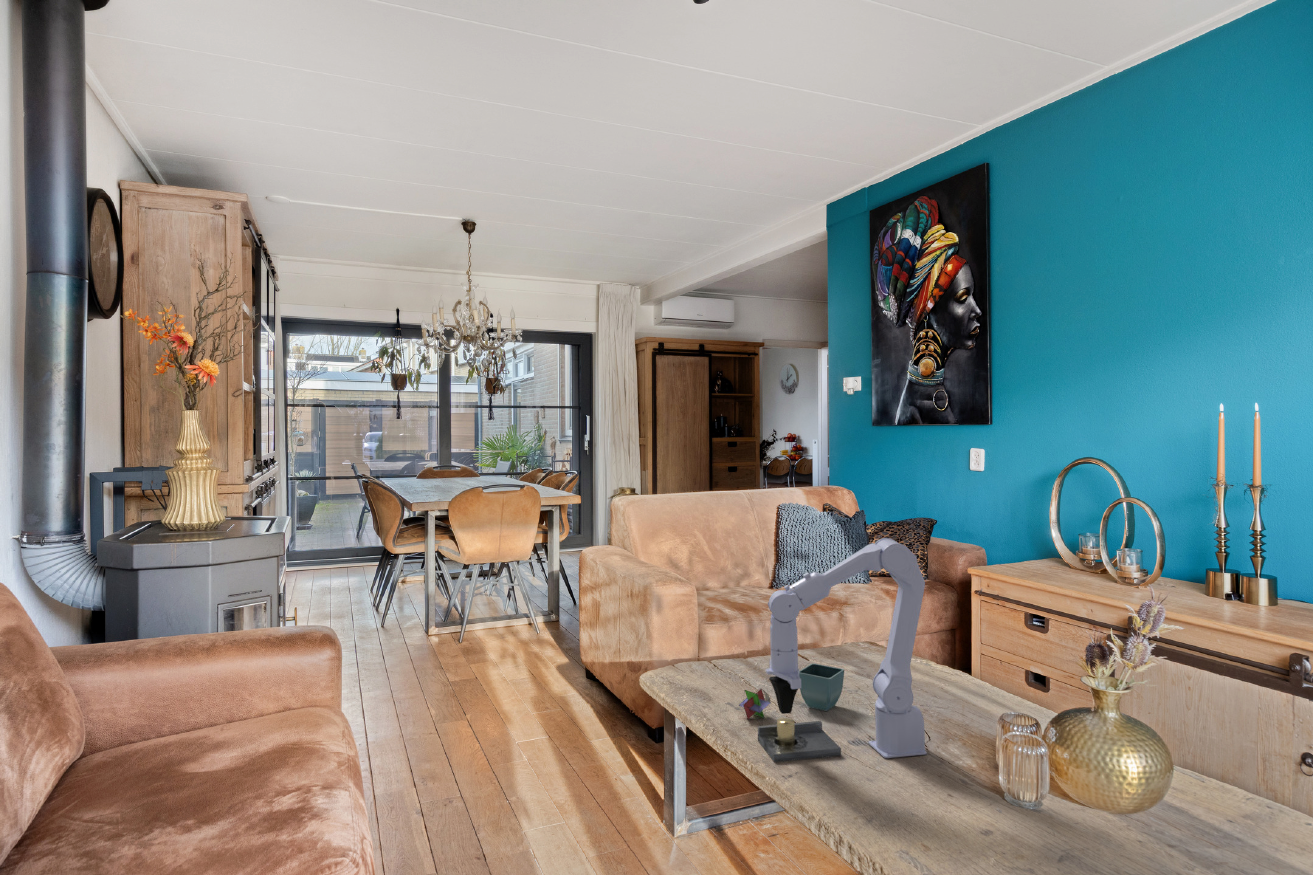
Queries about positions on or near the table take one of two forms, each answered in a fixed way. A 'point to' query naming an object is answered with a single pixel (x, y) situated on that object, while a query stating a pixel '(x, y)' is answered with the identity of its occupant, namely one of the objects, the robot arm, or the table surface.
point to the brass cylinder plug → (785, 732)
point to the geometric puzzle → (755, 703)
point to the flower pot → (821, 686)
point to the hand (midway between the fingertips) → (785, 712)
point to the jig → (799, 742)
